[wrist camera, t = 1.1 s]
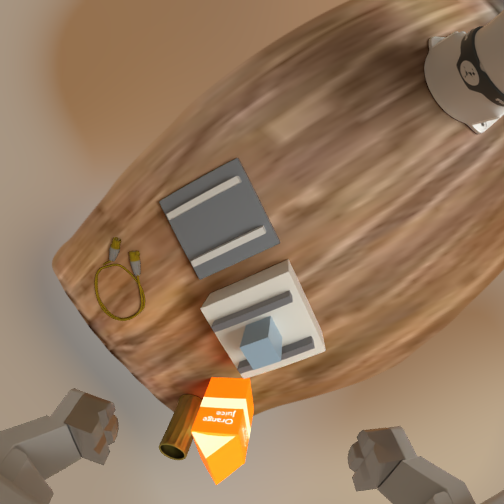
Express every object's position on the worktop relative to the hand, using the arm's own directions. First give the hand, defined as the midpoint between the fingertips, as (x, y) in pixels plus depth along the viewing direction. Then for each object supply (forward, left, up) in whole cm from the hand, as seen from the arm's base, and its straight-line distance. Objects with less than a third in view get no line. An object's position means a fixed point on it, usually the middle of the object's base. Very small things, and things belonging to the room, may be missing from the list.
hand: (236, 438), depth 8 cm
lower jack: (+7, -5, -37) cm, 38 cm away
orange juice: (+21, +26, -38) cm, 50 cm away
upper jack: (+7, +12, -37) cm, 40 cm away
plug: (+7, +12, -31) cm, 34 cm away
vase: (+31, +26, -38) cm, 55 cm away
